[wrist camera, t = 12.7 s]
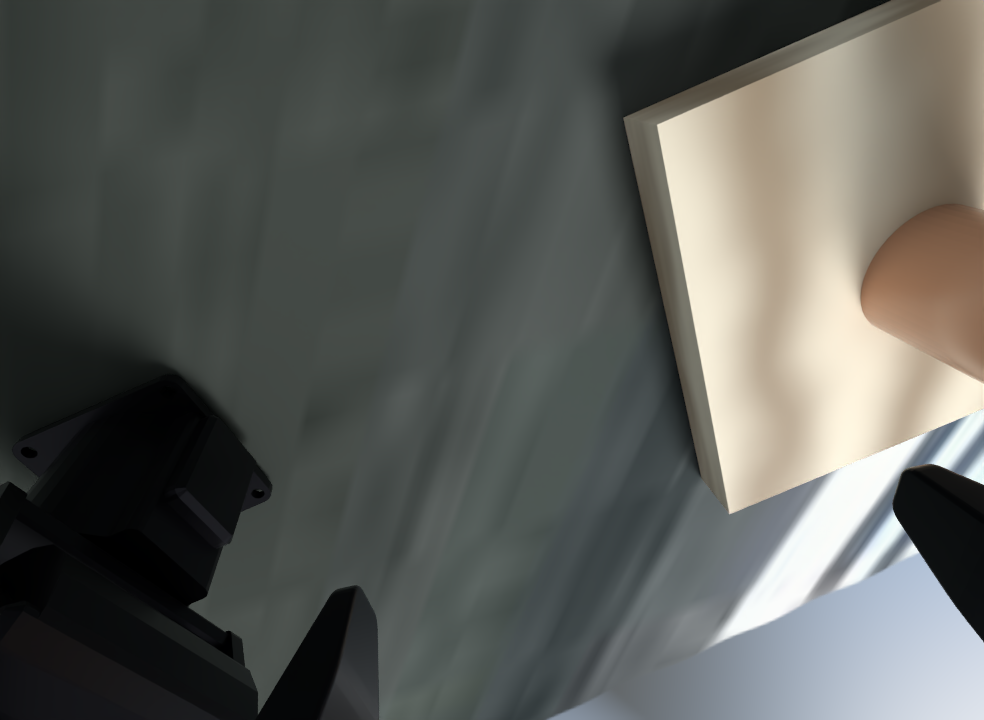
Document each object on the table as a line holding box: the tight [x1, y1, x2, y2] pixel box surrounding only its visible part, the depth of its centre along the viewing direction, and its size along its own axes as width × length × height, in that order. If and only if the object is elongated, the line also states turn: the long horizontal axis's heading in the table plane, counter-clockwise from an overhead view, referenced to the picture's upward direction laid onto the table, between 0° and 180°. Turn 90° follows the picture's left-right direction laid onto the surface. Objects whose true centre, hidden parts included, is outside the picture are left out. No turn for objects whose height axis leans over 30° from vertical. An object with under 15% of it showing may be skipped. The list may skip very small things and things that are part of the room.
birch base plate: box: [623, 0, 984, 514], centre depth 21 cm, size 18×18×2 cm
